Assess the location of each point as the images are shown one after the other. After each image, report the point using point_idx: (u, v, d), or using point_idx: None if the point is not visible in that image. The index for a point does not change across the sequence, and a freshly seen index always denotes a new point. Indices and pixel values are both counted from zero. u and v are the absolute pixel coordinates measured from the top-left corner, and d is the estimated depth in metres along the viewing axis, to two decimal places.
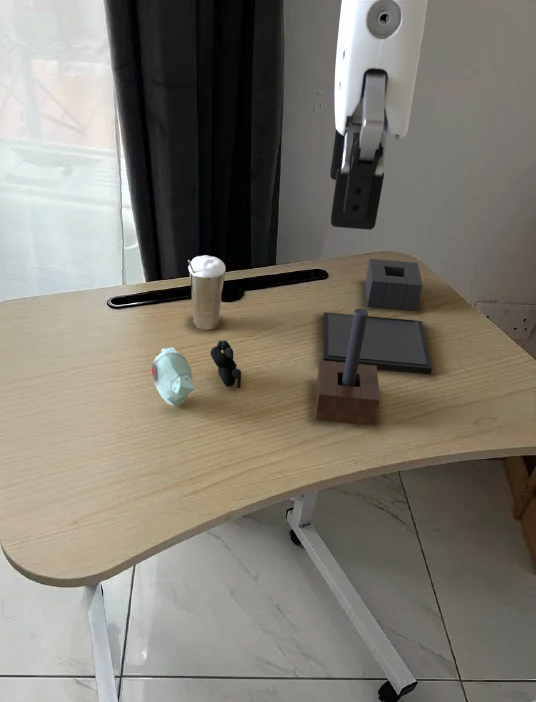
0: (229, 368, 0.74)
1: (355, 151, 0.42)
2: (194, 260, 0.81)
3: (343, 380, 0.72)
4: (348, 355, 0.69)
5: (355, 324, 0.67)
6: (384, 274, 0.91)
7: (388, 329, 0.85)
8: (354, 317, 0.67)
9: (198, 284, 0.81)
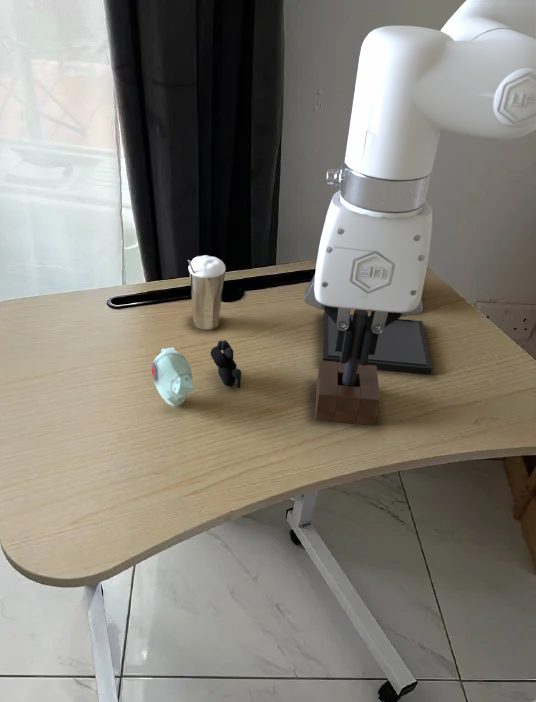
0: (229, 368, 0.74)
1: None
2: (194, 260, 0.81)
3: (343, 380, 0.72)
4: None
5: (355, 324, 0.67)
6: None
7: (388, 329, 0.85)
8: (354, 317, 0.67)
9: (198, 284, 0.81)
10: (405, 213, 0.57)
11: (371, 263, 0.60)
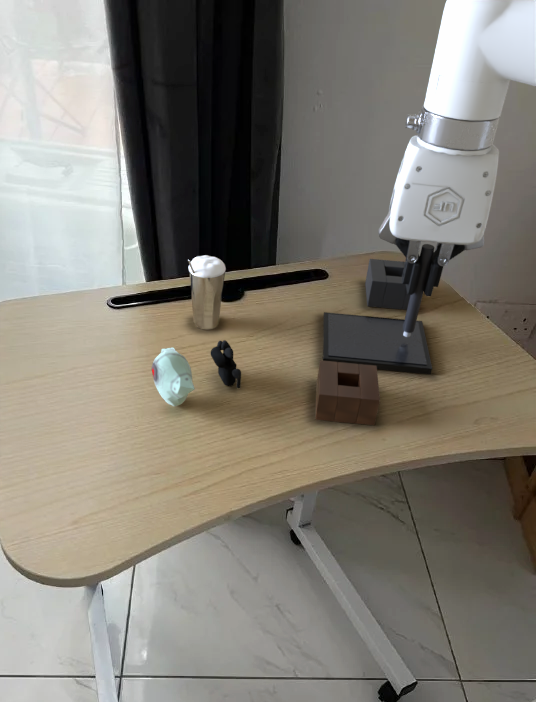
0: (229, 368, 0.74)
1: None
2: (194, 260, 0.81)
3: (408, 311, 0.80)
4: None
5: (422, 258, 0.75)
6: (384, 274, 0.91)
7: (388, 329, 0.85)
8: (422, 251, 0.75)
9: (198, 284, 0.81)
10: (477, 151, 0.65)
11: (444, 198, 0.69)
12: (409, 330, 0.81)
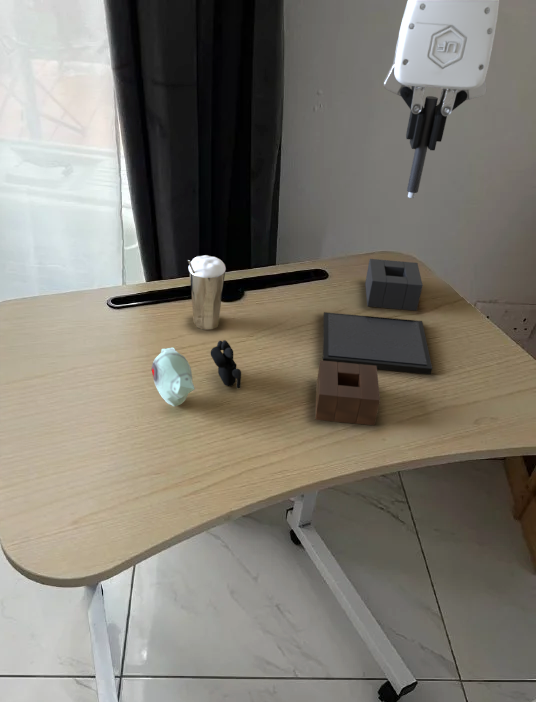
0: (229, 368, 0.74)
1: None
2: (194, 260, 0.81)
3: (412, 170, 0.82)
4: None
5: (426, 109, 0.78)
6: (384, 274, 0.91)
7: (388, 329, 0.85)
8: (426, 102, 0.78)
9: (198, 284, 0.81)
10: None
11: (447, 38, 0.71)
12: (413, 190, 0.84)
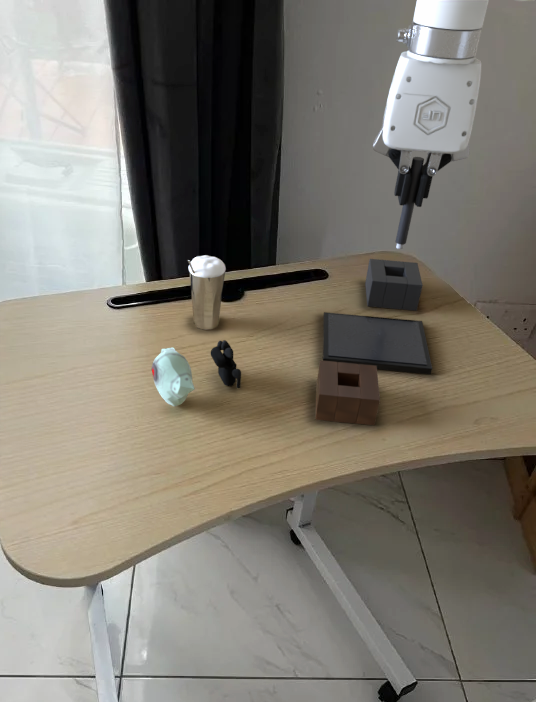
0: (229, 368, 0.74)
1: None
2: (194, 260, 0.81)
3: (400, 223, 0.87)
4: None
5: (413, 169, 0.82)
6: (384, 274, 0.91)
7: (388, 329, 0.85)
8: (412, 163, 0.82)
9: (198, 284, 0.81)
10: (461, 60, 0.72)
11: (431, 107, 0.76)
12: (401, 242, 0.88)
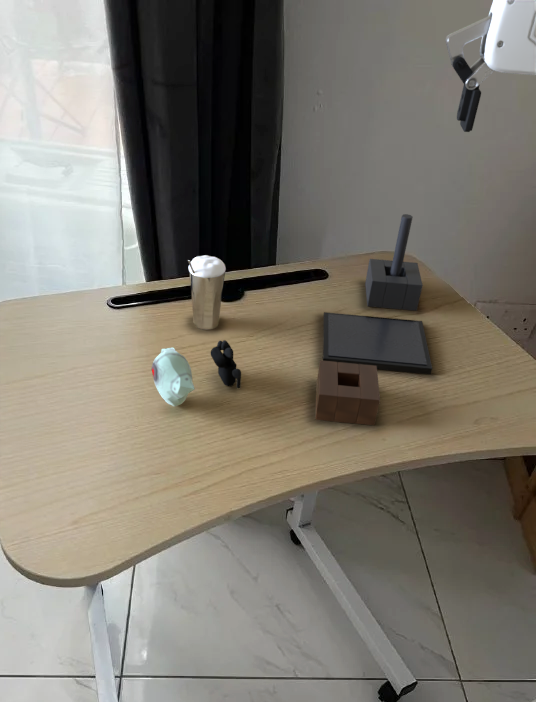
0: (229, 368, 0.74)
1: None
2: (194, 260, 0.81)
3: (390, 275, 0.91)
4: (395, 253, 0.89)
5: (402, 226, 0.87)
6: (384, 274, 0.91)
7: (388, 329, 0.85)
8: (402, 220, 0.87)
9: (198, 284, 0.81)
10: None
11: None
12: None
